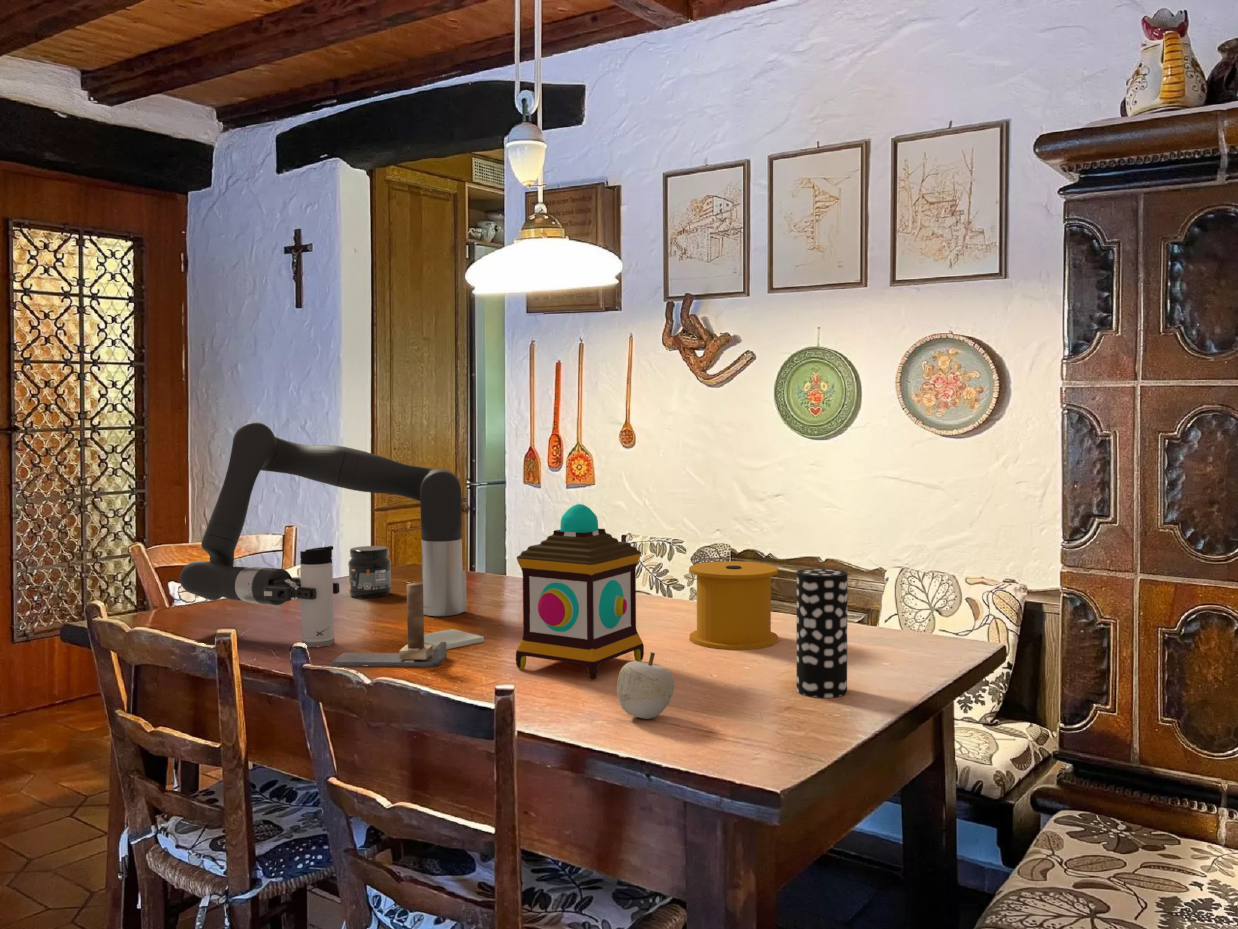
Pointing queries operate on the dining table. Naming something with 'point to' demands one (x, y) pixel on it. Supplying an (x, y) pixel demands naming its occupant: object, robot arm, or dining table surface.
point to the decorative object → (644, 688)
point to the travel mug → (317, 597)
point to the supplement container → (369, 571)
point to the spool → (733, 605)
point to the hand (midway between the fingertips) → (326, 591)
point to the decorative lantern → (579, 595)
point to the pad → (451, 638)
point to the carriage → (415, 625)
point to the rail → (392, 659)
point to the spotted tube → (822, 632)
